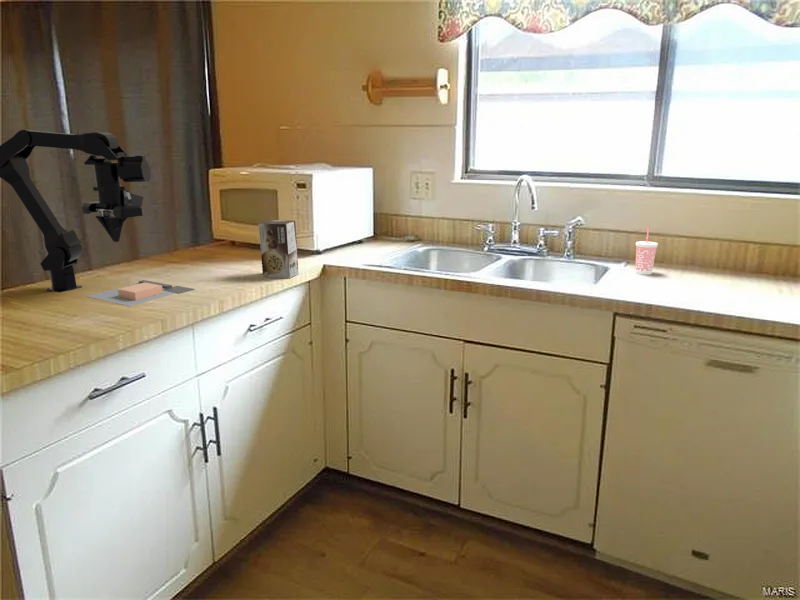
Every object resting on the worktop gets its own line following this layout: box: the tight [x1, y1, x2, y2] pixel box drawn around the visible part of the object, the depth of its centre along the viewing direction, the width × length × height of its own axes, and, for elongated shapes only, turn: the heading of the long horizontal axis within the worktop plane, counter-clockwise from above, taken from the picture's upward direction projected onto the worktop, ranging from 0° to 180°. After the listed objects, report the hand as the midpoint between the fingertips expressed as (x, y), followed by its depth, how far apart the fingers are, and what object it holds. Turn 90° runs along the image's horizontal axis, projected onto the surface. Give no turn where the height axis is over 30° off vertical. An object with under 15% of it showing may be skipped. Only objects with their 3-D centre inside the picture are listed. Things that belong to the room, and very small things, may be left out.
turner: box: [138, 279, 195, 295], centre depth 161 cm, size 19×5×1 cm, turn 59°
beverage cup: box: [634, 225, 659, 275], centre depth 174 cm, size 6×6×14 cm
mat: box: [85, 282, 177, 307], centre depth 155 cm, size 18×16×1 cm
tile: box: [118, 283, 163, 300], centre depth 153 cm, size 2×8×7 cm
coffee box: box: [257, 219, 299, 279], centre depth 173 cm, size 9×6×16 cm
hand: (116, 241), depth 158 cm, fingers closed
